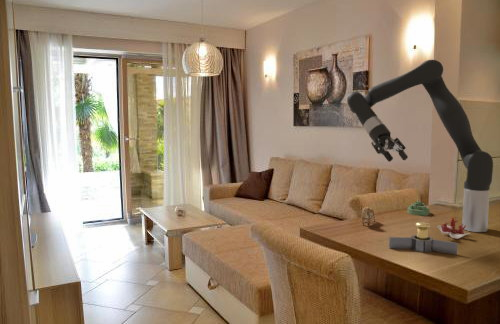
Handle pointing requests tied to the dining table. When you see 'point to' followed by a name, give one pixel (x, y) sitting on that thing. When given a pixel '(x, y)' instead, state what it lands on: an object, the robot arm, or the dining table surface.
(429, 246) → the hinge
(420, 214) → the decorative artifact
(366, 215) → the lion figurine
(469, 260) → the dining table surface
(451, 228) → the figurine
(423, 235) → the hinge pin
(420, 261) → the dining table surface
